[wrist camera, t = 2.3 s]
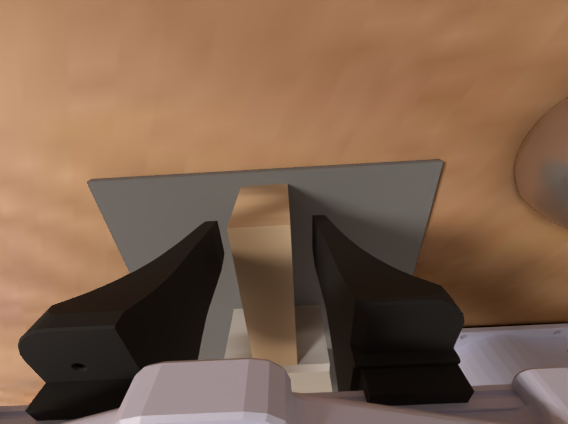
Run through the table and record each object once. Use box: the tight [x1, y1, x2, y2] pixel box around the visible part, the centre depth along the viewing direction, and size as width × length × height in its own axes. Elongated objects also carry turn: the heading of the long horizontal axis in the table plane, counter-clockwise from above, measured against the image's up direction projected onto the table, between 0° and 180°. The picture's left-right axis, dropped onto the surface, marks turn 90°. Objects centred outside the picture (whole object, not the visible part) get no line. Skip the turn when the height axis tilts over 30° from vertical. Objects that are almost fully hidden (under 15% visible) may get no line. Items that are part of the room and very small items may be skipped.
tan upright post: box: [224, 184, 330, 373], centre depth 14 cm, size 6×10×4 cm, turn 3°
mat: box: [87, 159, 443, 392], centre depth 19 cm, size 18×25×1 cm
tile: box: [287, 371, 332, 393], centre depth 17 cm, size 7×2×8 cm, turn 93°
